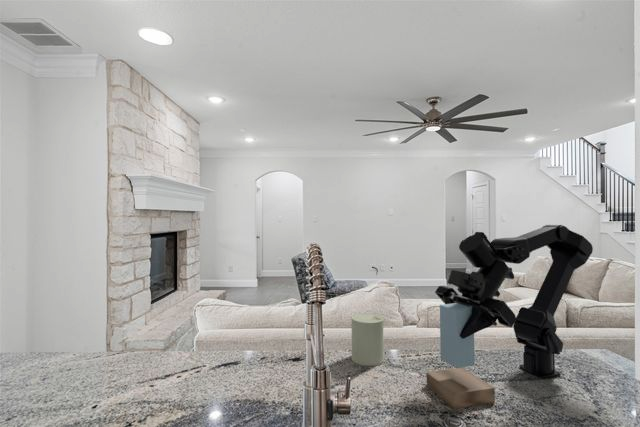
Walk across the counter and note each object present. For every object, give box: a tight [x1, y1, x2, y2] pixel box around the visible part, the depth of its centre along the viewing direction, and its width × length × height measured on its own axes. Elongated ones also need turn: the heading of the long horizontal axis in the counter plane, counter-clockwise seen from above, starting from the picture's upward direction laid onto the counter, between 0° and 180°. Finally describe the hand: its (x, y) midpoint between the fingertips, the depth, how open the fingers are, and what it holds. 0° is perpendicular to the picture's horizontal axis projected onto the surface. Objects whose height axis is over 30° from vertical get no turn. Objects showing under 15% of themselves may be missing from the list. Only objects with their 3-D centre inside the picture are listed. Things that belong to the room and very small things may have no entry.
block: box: [439, 303, 476, 369], centre depth 73 cm, size 5×5×12 cm
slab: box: [426, 367, 496, 409], centre depth 72 cm, size 10×10×3 cm
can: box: [350, 312, 385, 367], centre depth 90 cm, size 9×9×12 cm
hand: (452, 333), depth 72 cm, fingers closed on block, 5 cm apart
